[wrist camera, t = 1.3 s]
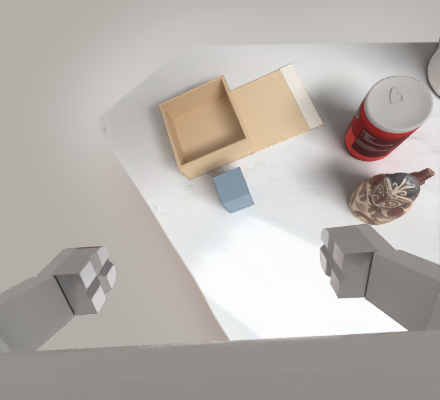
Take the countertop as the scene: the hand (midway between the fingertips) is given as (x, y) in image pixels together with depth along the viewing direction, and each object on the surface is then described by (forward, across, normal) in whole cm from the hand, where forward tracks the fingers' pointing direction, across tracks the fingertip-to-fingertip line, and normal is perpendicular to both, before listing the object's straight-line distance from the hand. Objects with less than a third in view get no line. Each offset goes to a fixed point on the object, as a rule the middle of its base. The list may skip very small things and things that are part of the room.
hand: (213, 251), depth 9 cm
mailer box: (+42, -3, +1) cm, 42 cm away
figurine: (+28, -23, +14) cm, 39 cm away
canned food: (+35, -24, +6) cm, 43 cm away
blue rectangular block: (+33, -2, +13) cm, 35 cm away
